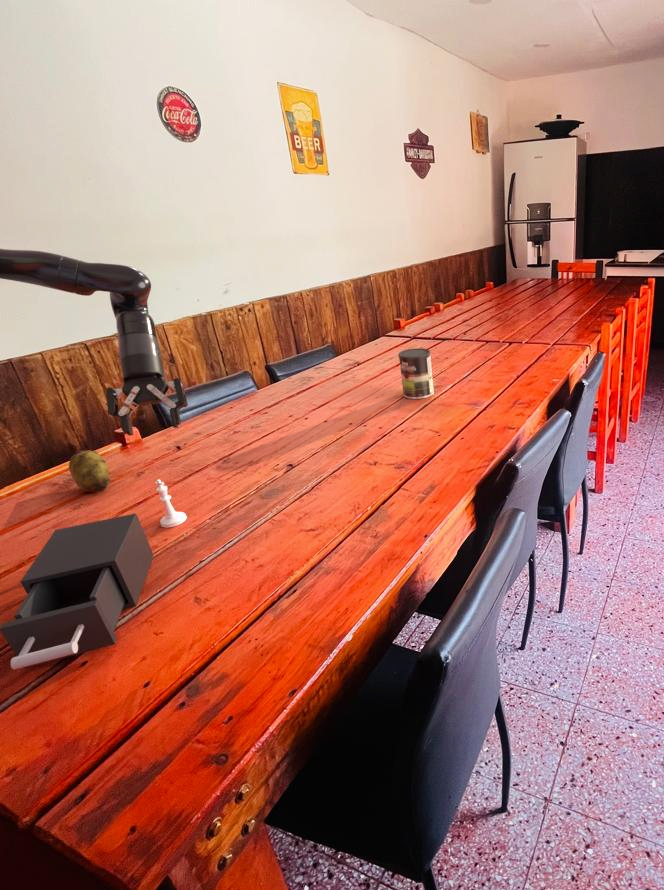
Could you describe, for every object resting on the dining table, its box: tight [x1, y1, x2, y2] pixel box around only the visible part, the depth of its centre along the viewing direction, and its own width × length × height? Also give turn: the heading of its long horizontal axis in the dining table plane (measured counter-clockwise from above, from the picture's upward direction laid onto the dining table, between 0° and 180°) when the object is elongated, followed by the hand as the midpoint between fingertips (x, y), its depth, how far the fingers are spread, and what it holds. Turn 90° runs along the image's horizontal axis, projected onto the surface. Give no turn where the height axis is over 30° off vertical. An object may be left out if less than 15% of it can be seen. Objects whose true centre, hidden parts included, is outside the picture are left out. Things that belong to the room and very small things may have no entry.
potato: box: [68, 449, 111, 493], centre depth 122 cm, size 8×13×8 cm, turn 28°
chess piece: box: [154, 478, 188, 529], centre depth 106 cm, size 5×5×10 cm
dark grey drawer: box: [0, 565, 126, 670], centre depth 77 cm, size 19×11×8 cm, turn 20°
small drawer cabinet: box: [20, 513, 154, 610], centre depth 87 cm, size 15×13×10 cm
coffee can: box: [397, 347, 435, 400], centre depth 167 cm, size 10×10×14 cm
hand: (152, 430), depth 107 cm, fingers open, 8 cm apart
